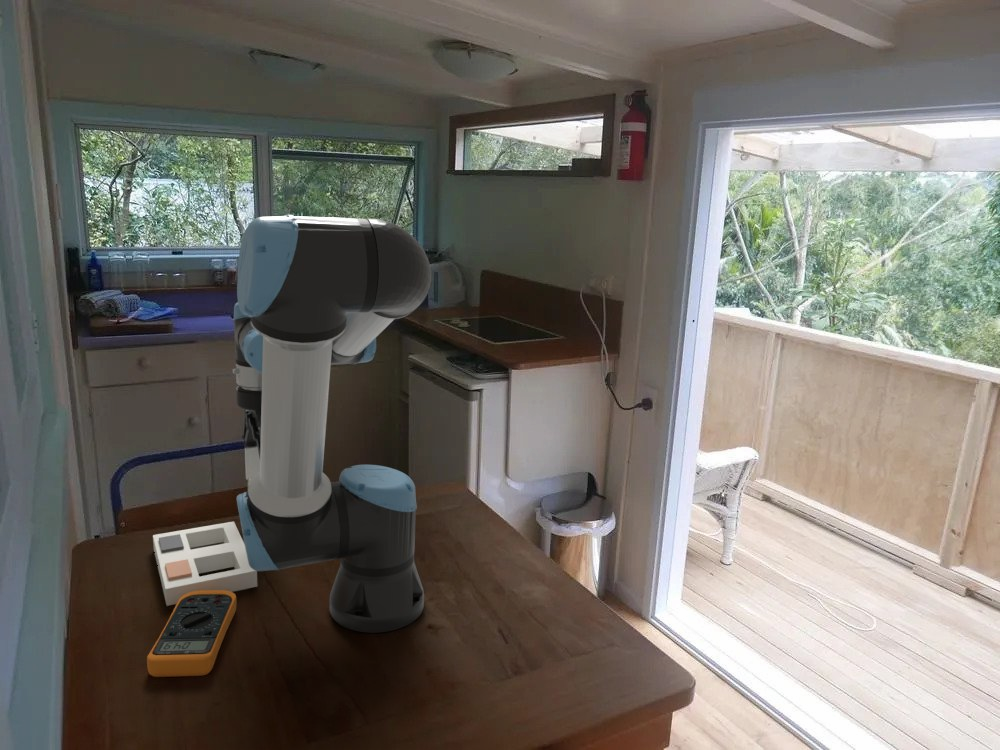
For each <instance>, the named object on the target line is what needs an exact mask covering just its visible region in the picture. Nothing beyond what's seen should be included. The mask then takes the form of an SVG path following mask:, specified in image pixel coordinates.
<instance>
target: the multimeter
mask: <svg viewBox="0 0 1000 750" xmlns="http://www.w3.org/2000/svg"><path fill="white" fill-rule="evenodd" d="M236 611H237V596H236V593H234V592H231V591H225V590H199V591H193V592H189V593H187V594H185V595H183V596H182V597H181V598H180V599H179V600H178V602H177V604H175V607H174V608H173V610H172V612H171V615H170V616H169V618H168V620H167V622H166V624H165V626H164V627H163V629H162V631H161V633H160V635H159V637H158V638H157V640H156V641H155V643H154V645H153V646H152V648H151V649H150V651H149V653H148V654H147V657H146V664H147V665H146V666H147V671H148V674H149V675H150V676H152V677H154V678H167V677H169V678H170V677H171V678H172V677H198V676H199V677H200V676H201V677H202V676H205V675H208V674H210V672H211V671H212V670H213V668H214V665H215V663H216V660H217V657H218V654H219V651H220V648H221V646H222V643H223V641H224V638H225V636H226V633H227V630H228V629H229V626H230V624H231V623H232V620H233V618H234V616H235V613H236Z"/></svg>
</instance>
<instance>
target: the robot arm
mask: <svg viewBox="0 0 1000 750" xmlns="http://www.w3.org/2000/svg"><path fill="white" fill-rule="evenodd" d="M239 249H240V250H239V254H238V262H237V273H236V274H237V275H236V276H237V282H236V283H237V284H236V298H237V302H236V303H234V307H233V318H232V322H233V328H234V329H233V330H234V346H235V347H234V348H235V349H234V351H235V353H234V354H235V367H236V368H233V369H232V370H231V371H232V374H233V375H235V376H236V377H235V380H236V381H235V382H236V384H237V385H238V386H236V393H235V394H236V405H237V406H238V408H240V409H243V411H244V412H243V420H242V421H243V422H242V433H241V438H242V440H243V445H244V464H245V479H246V480H248V477H253V478H252V480H251V481H250V484H249V488H248V487H247V491H244V492H243V493H239V494H238V495H237V496H236V506H237V509H238V517H239V520H240V521H239V522H240V525H241V531H242V536H243V537H242V539H243V542H244V544H245V548H246V553H247V559H248V563H249V566H250V567H251V568H252V569H254V570H256V571H257V572H265V571H266V572H267V571H268V572H269V571H281V570H285V569H289V568H295V567H300V566H306V565H312V564H317V563H323V562H329V561H334V560H340V566H339V568H338V571H337V573H336V577H335V580H334V581H333V585H332V587H331V591H330V594H329V613H330V616H331V618H332V619H333V620H334V621H335V622H336V623H337V624H339V626H341V627H344V628H346V629H349V630H352V631H354V632H361V633H369V634H375V633H380V634H381V633H386V632H393V631H396V630H400V629H402V628H404V627H406V626H409V625H410V624H412V623H414V621H416V620H417V619H418V618H420V616H421V614H422V613H423V610H424V606H425V593H424V588H423V584H422V581H421V578H420V576H419V573H418V570H417V566H416V564H415V549H416V548H415V545H416V544H415V543H416V542H415V539H416V518H417V517H416V514H417V512H416V511H417V509H418V505H417V500H416V499H417V497H416V485H415V483H414V482H413V480H412V479H411V478H410V476H408V475H407V474H406V473H404V472H402V471H400V470H398V469H395V468H392V467H388V466H384V465H378V464H355V465H352V466H349V467H346V468H344V469H343V470H342V471H341V472H340V475H339V478H338V479H339V481H334V482H331V480H330V478H329V477H328V476H327V475H326V474H325V473H324V472H323V470H324V468H323V467H324V459H325V458H324V455H325V444H326V443H325V442H326V430H327V417H328V407H329V406H328V404H329V390H330V380H331V379H330V378H331V376H330V375H331V367H332V365H347V364H348V365H356V364H357V365H358V364H361V363H369V362H370V361H372V360H373V359H374V357H375V353H376V351H377V337H378V336H380V334H381V333H382V332H383V331H384V330H386V328H387V327H388V326H389V325H390V324H391V323H392V322H393V321H394V320H397V319H401V318H402V319H403V318H404V317H407V316H408V315H411V314H412V313H413V312H415V310H416V309H417V308H418V307H419V306H420V305H421V304H422V303H423V302H424V301H425V299H426V297H427V295H428V294H429V290H430V287H431V282H432V269H431V265H430V261H429V257H428V256H427V253H426V252H425V250H424V248H423V247H422V245H421V244H420V243H419V241H418V240H417V239H416V237H414V236H413V235H412V234H411V233H409V231H407V230H405V229H404V228H403V227H401V226H400V225H397V224H396V223H393V222H390V221H387V220H383V219H379V218H373V217H372V218H371V217H369V218H368V217H363V218H355V217H334V216H333V217H329V216H327V217H326V216H302V215H301V216H298V215H297V216H294V214H284V215H278V216H277V215H275V216H269V215H268V216H259V217H256V218H254V219H253V220H251V221H250V222H249V224H248V225H247V227H246V229H245V231H244V233H243V236H242V240H241V244H240V248H239Z"/></svg>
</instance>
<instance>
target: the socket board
mask: <svg viewBox="0 0 1000 750" xmlns="http://www.w3.org/2000/svg"><path fill="white" fill-rule="evenodd" d="M152 542H153V544H152V545H153V552H155V553H154V557H155V561H156V565H158V566H157V570H158V574H159V577H160V582H161V583H160V584H161V587H162V593H163V597H164V601H165V604H166V607H168V606H173V605H176V604H177V602H178V600H179V599H180V598H181V597H182V596H183V595H185V594H187V593H189V592H193V591H199V590H225V591H231V592H233V593H234V592H238V591H239V592H240V591H243V590H248V589H253V588H257V587H258V571H256V570H254V569H252V568H251V567H250V566H249V563H248V559H247V553H246V548H245V543H244V539H243V537H242V536H241V534H240V532H239V529H238V528H237V525H236V523H235V521H228V522H224V523H216V524H211V525H205V526H199V527H192V528H187V529H182V530H181V529H180V530H176V531H170V532H164V533H157V534H153V535H152ZM228 568H233V569H231V570H227V571H221V572H216V573H211V574H207V575H206V574H205V573H209V572H213V571H219V570H224V569H228ZM199 574H205V575H202V576H200V575H199Z"/></svg>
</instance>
